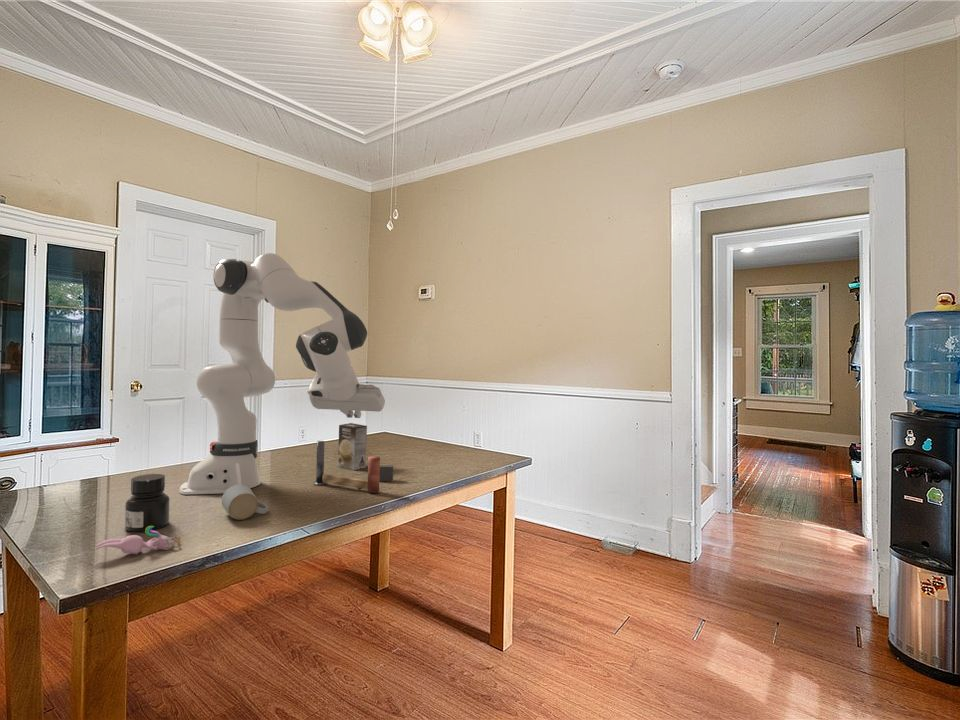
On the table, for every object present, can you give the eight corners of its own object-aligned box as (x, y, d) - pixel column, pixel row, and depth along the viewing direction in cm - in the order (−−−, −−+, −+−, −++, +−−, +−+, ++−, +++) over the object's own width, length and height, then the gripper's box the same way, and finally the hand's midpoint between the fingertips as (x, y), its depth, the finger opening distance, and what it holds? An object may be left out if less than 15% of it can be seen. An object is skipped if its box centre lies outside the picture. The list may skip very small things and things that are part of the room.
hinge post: (313, 486, 154) (314, 442, 154) (312, 482, 158) (313, 440, 158) (326, 485, 156) (327, 442, 156) (325, 481, 160) (326, 440, 159)
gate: (319, 485, 155) (320, 452, 155) (327, 482, 158) (328, 450, 158) (374, 494, 147) (375, 459, 147) (381, 490, 150) (382, 457, 150)
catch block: (377, 481, 162) (378, 466, 162) (378, 479, 164) (378, 465, 164) (392, 481, 162) (393, 466, 162) (392, 479, 165) (393, 465, 165)
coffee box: (336, 467, 180) (337, 424, 180) (349, 463, 186) (350, 422, 185) (353, 470, 175) (354, 427, 175) (366, 467, 181) (367, 425, 181)
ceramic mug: (228, 524, 120) (229, 493, 120) (220, 515, 126) (221, 485, 126) (272, 516, 126) (273, 487, 126) (263, 508, 133) (264, 480, 133)
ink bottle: (121, 524, 117) (122, 476, 117) (164, 516, 123) (164, 470, 123) (128, 536, 110) (129, 484, 110) (173, 527, 117) (174, 478, 116)
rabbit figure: (177, 547, 108) (94, 550, 100) (182, 520, 109) (100, 521, 100) (178, 557, 103) (91, 561, 95) (184, 529, 104) (98, 531, 95)
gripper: (381, 376, 129) (391, 408, 139) (309, 374, 131) (324, 406, 141) (375, 394, 125) (386, 426, 134) (301, 391, 127) (317, 423, 137)
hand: (354, 416), depth 138 cm, fingers closed
